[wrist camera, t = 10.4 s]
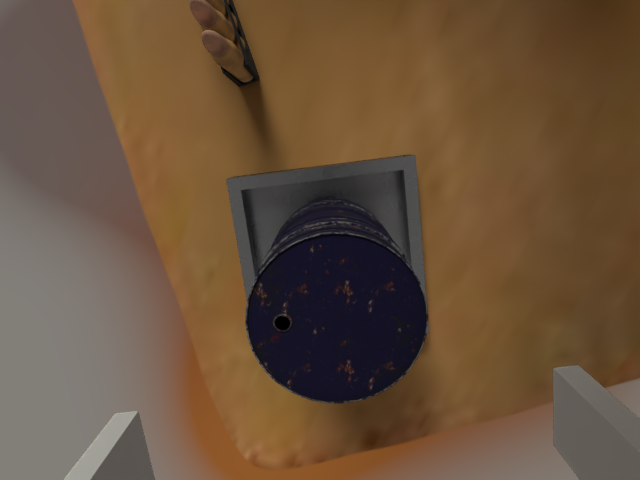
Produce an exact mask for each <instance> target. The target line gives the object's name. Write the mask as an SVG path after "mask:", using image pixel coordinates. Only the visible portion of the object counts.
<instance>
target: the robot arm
mask: <svg viewBox="0 0 640 480" xmlns="http://www.w3.org/2000/svg"><path fill="white" fill-rule="evenodd" d="M553 412H554V413H553V415H554V416H553V418H554V419H553V421H554V422H553V423H554V425H553V427H554V446H555V447H556V449H557V450H558V451H559V453H560V454H561V455H562V456H563V458H564V459H565V461H566V462H567V463H568V464H569V466H570V467H571V469H572V470H573V471H574V473H575V474H576V475H577V477H578V478H579V479H580V480H640V419H639V418H638V417H637V416H636V415H635V414H634V413H633V412H631V411H630V410H629V409H628V408H627V407H626V406H625V405H623V404H622V403H621V402H620V401H619V400H618V399H616V398H615V397H614V396H613V395H612V394H611V393H610V392H609V391H607V390H606V389H605V388H604V387H603V386H602V385H601V384H599V383H598V382H597V381H596V380H595V379H594V378H592V377H591V376H590V375H589V374H588V373H587V372H586V371H584V370H583V369H582V368H581V367H580V366H579V365H575V366H565V367H556V368H553ZM63 480H155V478H154V474H153V469H152V465H151V461H150V457H149V453H148V448H147V444H146V440H145V436H144V432H143V428H142V424H141V419H140V416H139V412H138V411H133V412H123V413H115V414H114V416H113V417H112V418H111V419H110V421H109V422H108V423H107V424H106V426H105V427H104V428H103V430H102V431H101V432H100V433H99V435H98V436H97V437H96V439H95V440H94V441H93V442H92V444H91V445H90V446H89V447H88V449H87V450H86V452H85V453H84V454H83V455H82V457H81V458H80V459H79V460H78V462H77V463H76V464H75V465H74V467H73V468H72V469H71V471H70V472H69V473H68V474H67V476H66V477H65V478H64V479H63Z"/></svg>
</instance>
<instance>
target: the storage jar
mask: <svg viewBox="0 0 640 480" xmlns="http://www.w3.org/2000/svg"><path fill="white" fill-rule="evenodd" d="M427 327H428V306H427V302H426V297H425V293H424V290H423V288H422V286H421V283H420V281H419V279H418V277H417V276H416V274H415V273H414V271H413V269H412V266H411V264H410V263H409V261H408V260H407V258H406V257H405V255H404V254H403V252H402V251H401V249H400V248H399V246H398V245H397V244H396V243H395V242H394V240H393V239H392V238H391V236H390V235H389V233H388V232H387V230H386V229H385V228H384V226H383V225H382V223H381V222H380V221H379V220H378V219H377V218H376V217H375V216H374V215H373V214H372V213H371V212H369V211H368V210H367V209H366V208H364V207H363V206H361V205H359V204H358V203H356V202H353V201H350V200H347V199H342V198H331V197H330V198H321V199H318V200H314V201H311V202H309V203H307V204H305V205H303V206H302V207H300V208H299V209H297V210H296V211H295V212H294V213H293V214H292V215H291V216H290V217H289V218H288V219H287V221H286V222H285V223H284V224H283V226H282V227H281V229H280V230H279V232H278V234H277V236H276V238H275V239H274V241H273V243H272V246H271V248H270V249H269V250H268V252H267V254H266V256H265V258H264V259H263V262H262V264H261V266H260V268H259V269H258V272H257V275H256V278H255V280H254V283H253V285H252V288H251V291H250V294H249V296H248V301H247V307H246V329H247V336H248V340H249V343H250V346H251V349H252V351H253V353H254V355H255V357H256V359H257V360H258V362H259V364H260V365H261V366H262V368H263V369H264V370H265V372H266V373H267V374H268V375H269V376H270V377H271V378H272V379H273V380H274V381H275V382H277V383H278V384H280V385H281V386H282V387H284V388H285V389H287V390H288V391H290V392H292V393H294V394H296V395H298V396H301V397H304V398H306V399H309V400H313V401H318V402H323V403H349V402H355V401H360V400H364V399H367V398H370V397H372V396H375V395H377V394H379V393H381V392H383V391H385V390H386V389H388V388H390V387H391V386H392V385H394V384H395V383H396V382H398V381H399V380H400V379H401V378H402V377H403V376H404V375H405V374H406V373H407V372H408V371H409V370H410V368H411V367H412V365H413V364H414V362H415V361H416V359H417V358H418V356H419V354H420V352H421V350H422V347H423V345H424V341H425V338H426V334H427Z"/></svg>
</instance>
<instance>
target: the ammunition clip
mask: <svg viewBox="0 0 640 480" xmlns="http://www.w3.org/2000/svg"><path fill="white" fill-rule="evenodd" d="M189 3H190V9H191V11H192V14H193V16H194V17H195V18H196V20H197V21H198V22H199V24H200V25H201V27H202V30H203V33H202V41H203V44H204V46H205V47H206V49H207V50H208V51H209V52H210V53H211V55H212V57H213V59H214V60H215V61H216V62H217V63H218V64H219V65H220V66H221V69H222V71H223V73H224V74H225V75H226V76H227V77H228V78H229V79H231V80H232V81H233V82H234V83H236V84H237V85H238V86H239V87H241V86H243V85H246V84H249V83H251V82H254V81H257V80H259V75H258V72H257V69H256V66H255V64H254V61H253V58H252V55H251V52H250V49H249V46H248V44H247V41H246V38H245V35H244V32H243V29H242V26H241V24H240V21H239V18H238V15H237V12H236V9H235V6H234V4H233V1H232V0H190V2H189Z"/></svg>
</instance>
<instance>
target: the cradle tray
mask: <svg viewBox="0 0 640 480" xmlns="http://www.w3.org/2000/svg"><path fill="white" fill-rule="evenodd" d="M226 180H227V186H228V192H229V198H230V204H231V210H232V215H233V221H234V227H235V233H236V239H237V245H238V251H239V257H240V263H241V268H242V274H243V280H244V286H245V292H246V298H247V301H248V296H249V294H250V291H251V288H252V285H253V283H254V280H255V278H256V275H257V272H258V269H259V268H260V266H261V264H262V262H263V259H264V258H265V256H266V254H267V252H268V250H269V249H270V248H271V246H272V243H273V241H274V239H275V238H276V236H277V234H278V232H279V230H280V229H281V227H282V226H283V224H284V223H285V222H286V221H287V219H288V218H289V217H290V216H291V215H292V214H293V213H294V212H295V211H296V210H297V209H299V208H300V207H302V206H303V205H305V204H307V203H309V202H311V201H314V200H318V199H321V198H330V197H331V198H342V199H347V200H350V201H353V202H356V203H358V204H359V205H361V206H363V207H364V208H366V209H367V210H368V211H369V212H371V213H372V214H373V215H374V216H375V217H376V218H377V219H378V220H379V221H380V222H381V223H382V225H383V226H384V228H385V229H386V230H387V232H388V233H389V235H390V236H391V238H392V239H393V240H394V242H395V243H396V244H397V245H398V246H399V248H400V249H401V251H402V252H403V254H404V255H405V257H406V258H407V260H408V261H409V263H410V264H411V266H412V269H413V271H414V273H415V274H416V276H417V277H418V279H419V281H420V283H421V286H422V288H423V290H424V293H425V297H426V288H425V274H424V261H423V248H422V235H421V222H420V209H419V195H418V182H417V169H416V156H415V155H403V156H395V157H387V158H379V159H371V160H363V161H355V162H347V163H339V164H331V165H323V166H315V167H307V168H299V169H291V170H283V171H275V172H268V173H260V174H252V175H244V176H236V177H231V178H228V179H226ZM426 302H427V301H426ZM427 333H429V327H427Z"/></svg>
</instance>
